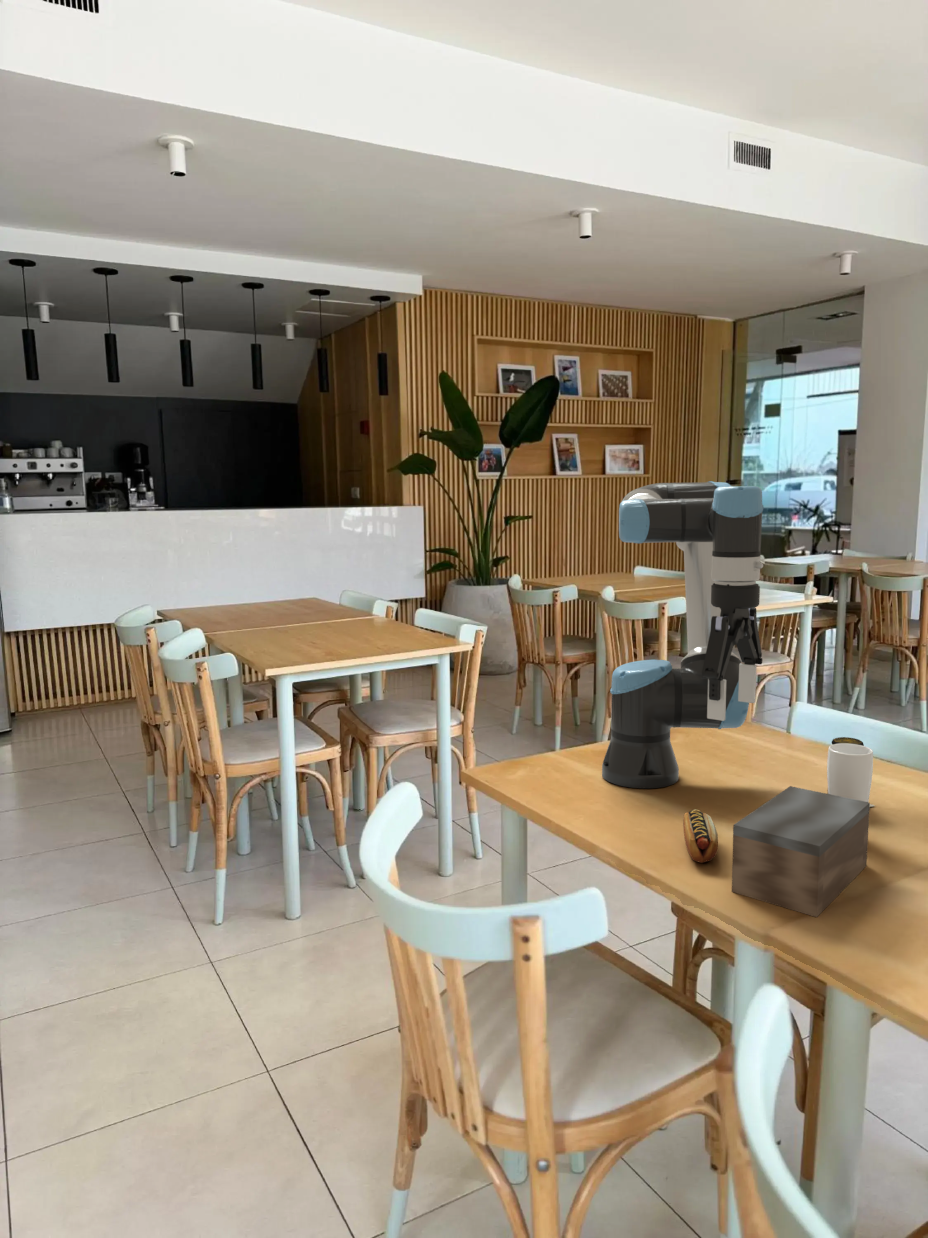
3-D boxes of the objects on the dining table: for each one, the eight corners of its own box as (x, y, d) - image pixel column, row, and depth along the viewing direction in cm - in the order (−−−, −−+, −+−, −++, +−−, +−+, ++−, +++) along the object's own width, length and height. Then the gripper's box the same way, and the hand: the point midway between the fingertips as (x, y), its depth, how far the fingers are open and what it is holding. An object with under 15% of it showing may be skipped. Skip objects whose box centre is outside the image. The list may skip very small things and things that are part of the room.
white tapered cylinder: (816, 830, 146) (820, 743, 144) (855, 828, 147) (859, 742, 145) (837, 846, 139) (841, 756, 137) (877, 844, 140) (882, 754, 138)
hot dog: (711, 836, 145) (712, 807, 144) (721, 870, 132) (722, 838, 131) (681, 834, 146) (681, 806, 145) (687, 868, 133) (688, 837, 132)
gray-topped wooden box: (731, 891, 124) (733, 825, 123) (788, 845, 140) (790, 786, 139) (816, 917, 116) (819, 846, 115) (866, 865, 132) (869, 802, 131)
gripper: (729, 591, 128) (725, 730, 132) (784, 576, 148) (779, 698, 151) (681, 588, 133) (679, 723, 136) (740, 574, 152) (737, 692, 156)
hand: (732, 710), depth 144 cm, fingers open, 13 cm apart
